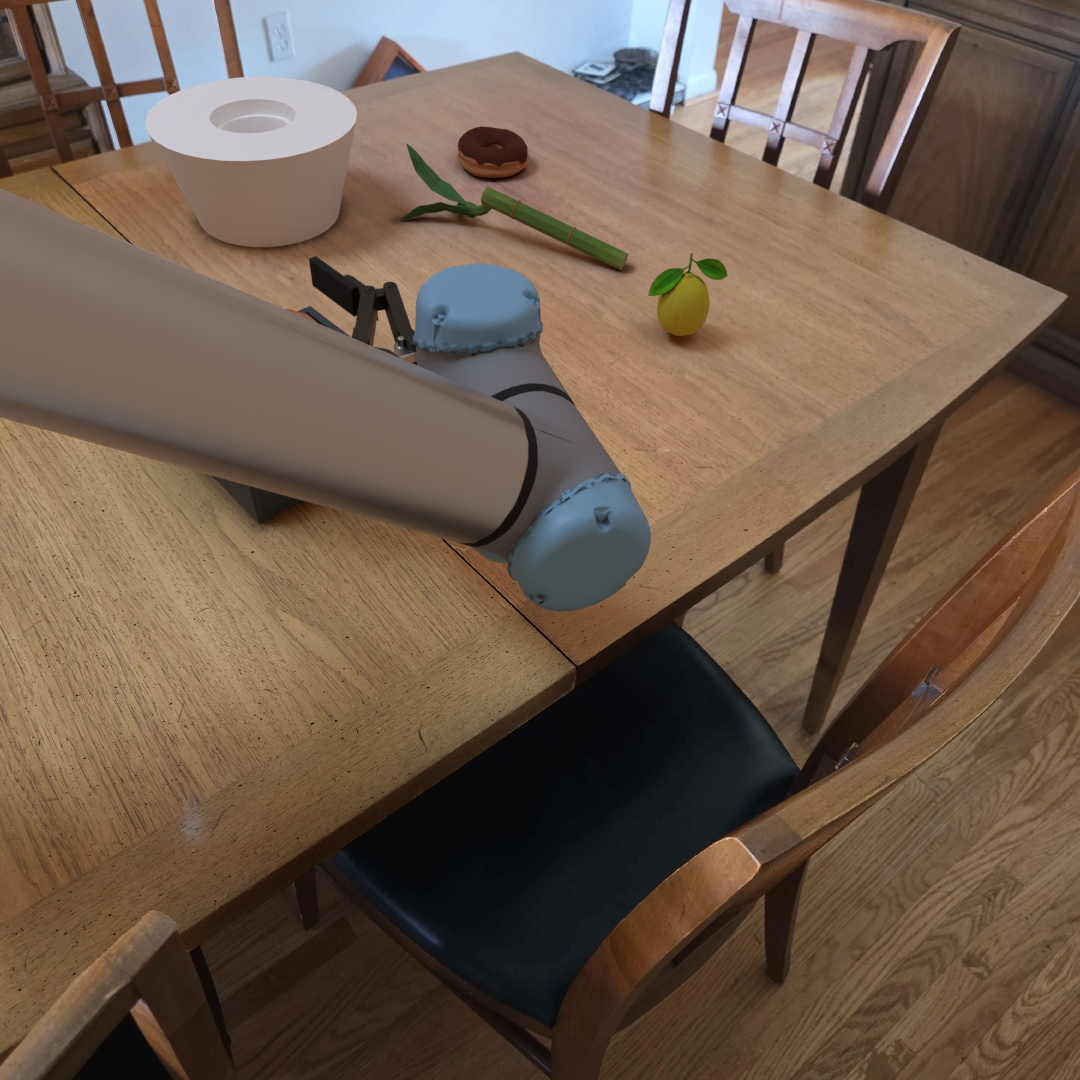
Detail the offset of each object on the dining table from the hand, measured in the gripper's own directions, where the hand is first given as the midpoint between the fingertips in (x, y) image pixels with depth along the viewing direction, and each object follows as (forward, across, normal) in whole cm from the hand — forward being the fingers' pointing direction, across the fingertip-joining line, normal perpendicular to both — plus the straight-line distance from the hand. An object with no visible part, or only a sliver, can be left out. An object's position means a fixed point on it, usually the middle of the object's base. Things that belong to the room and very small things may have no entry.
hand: (246, 295), depth 80 cm
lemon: (-16, +41, -13) cm, 46 cm away
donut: (+28, +52, -13) cm, 60 cm away
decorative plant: (+11, +41, -13) cm, 44 cm away
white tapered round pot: (+35, +21, -13) cm, 43 cm away
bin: (-3, 0, -13) cm, 13 cm away
